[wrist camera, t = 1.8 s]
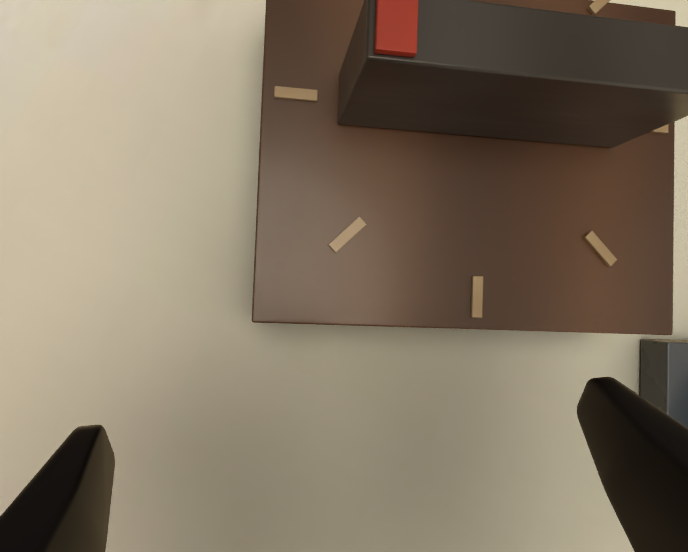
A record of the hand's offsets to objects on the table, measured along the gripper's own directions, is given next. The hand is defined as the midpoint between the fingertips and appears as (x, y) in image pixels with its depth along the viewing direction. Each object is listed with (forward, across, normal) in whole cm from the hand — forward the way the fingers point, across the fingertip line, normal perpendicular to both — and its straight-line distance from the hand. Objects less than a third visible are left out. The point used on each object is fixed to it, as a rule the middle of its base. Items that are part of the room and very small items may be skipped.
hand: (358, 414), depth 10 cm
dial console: (+15, -6, +2) cm, 16 cm away
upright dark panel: (+11, -6, -2) cm, 13 cm away
